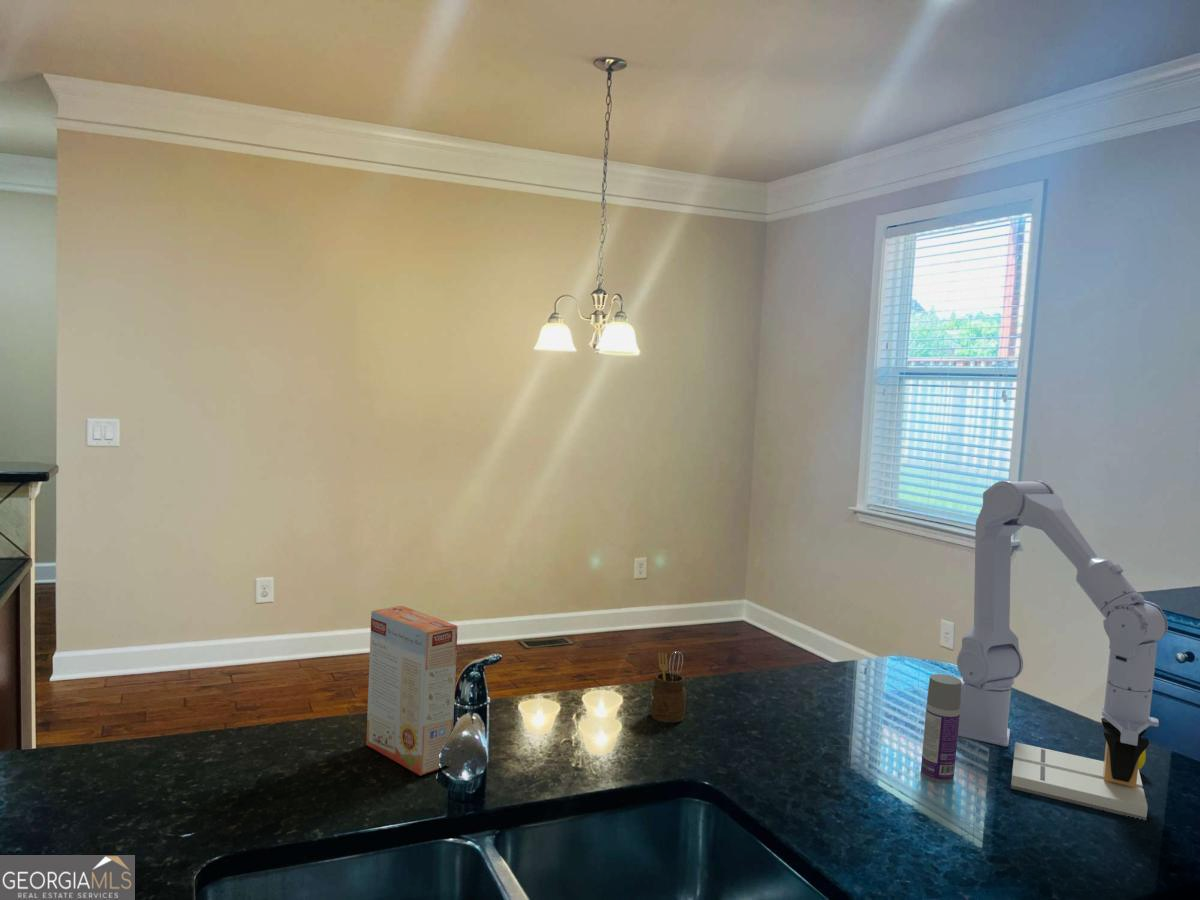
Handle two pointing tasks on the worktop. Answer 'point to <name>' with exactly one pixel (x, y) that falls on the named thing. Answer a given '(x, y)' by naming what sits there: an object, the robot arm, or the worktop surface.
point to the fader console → (1074, 781)
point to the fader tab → (1108, 774)
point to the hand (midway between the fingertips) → (1119, 775)
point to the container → (941, 728)
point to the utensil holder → (668, 694)
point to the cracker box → (411, 686)
